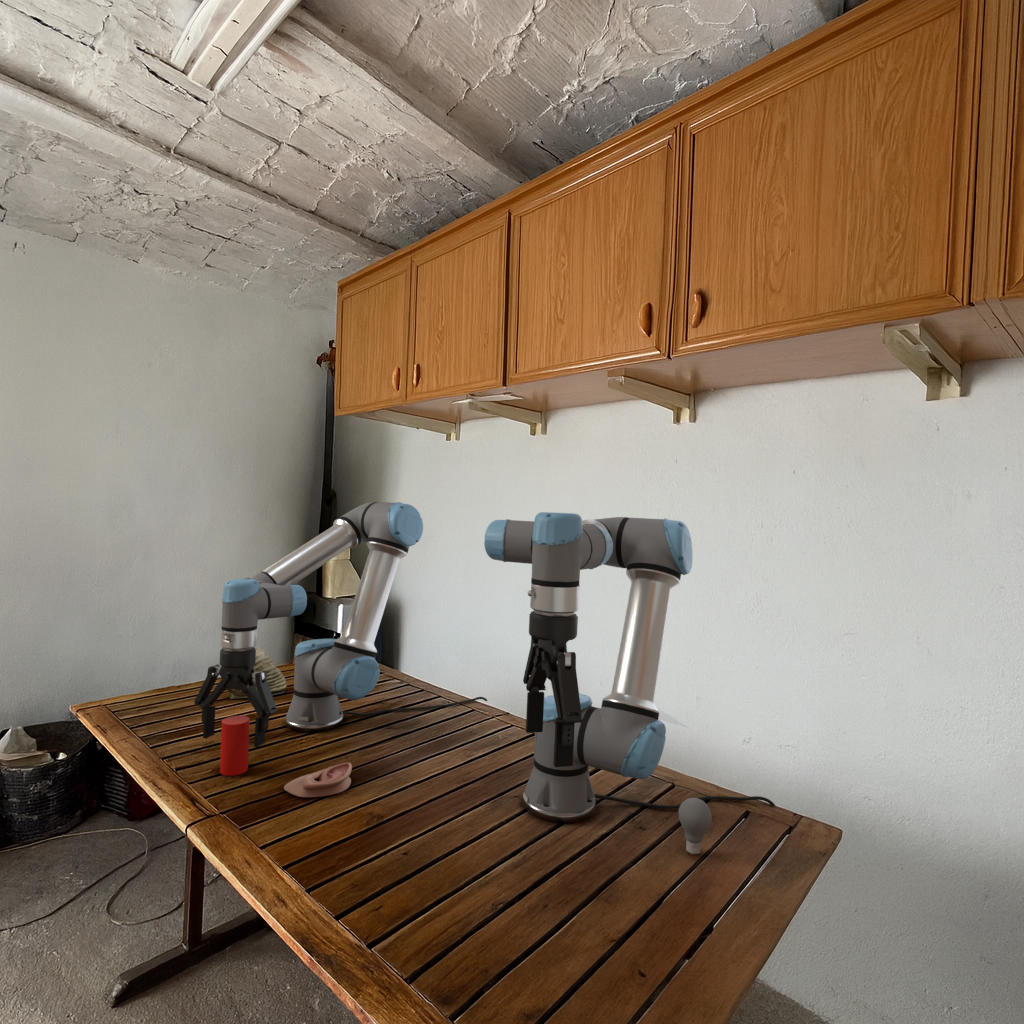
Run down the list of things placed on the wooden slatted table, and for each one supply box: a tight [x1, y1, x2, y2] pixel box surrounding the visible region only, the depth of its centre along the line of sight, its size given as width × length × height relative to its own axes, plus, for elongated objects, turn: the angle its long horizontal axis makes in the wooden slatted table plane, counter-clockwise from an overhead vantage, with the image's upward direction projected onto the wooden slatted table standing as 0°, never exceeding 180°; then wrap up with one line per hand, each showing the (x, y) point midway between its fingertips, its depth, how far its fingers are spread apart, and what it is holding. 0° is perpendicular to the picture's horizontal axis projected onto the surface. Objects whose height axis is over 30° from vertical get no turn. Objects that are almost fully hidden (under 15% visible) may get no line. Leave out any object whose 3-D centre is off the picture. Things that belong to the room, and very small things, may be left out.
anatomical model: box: [283, 762, 353, 798], centre depth 138 cm, size 13×4×12 cm
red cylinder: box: [219, 715, 251, 777], centre depth 144 cm, size 6×6×12 cm
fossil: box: [225, 647, 288, 699], centre depth 198 cm, size 9×18×15 cm, turn 132°
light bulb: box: [677, 797, 713, 855], centre depth 118 cm, size 6×6×10 cm
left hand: (233, 740), depth 144 cm, fingers open, 13 cm apart
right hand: (547, 747), depth 99 cm, fingers open, 13 cm apart
